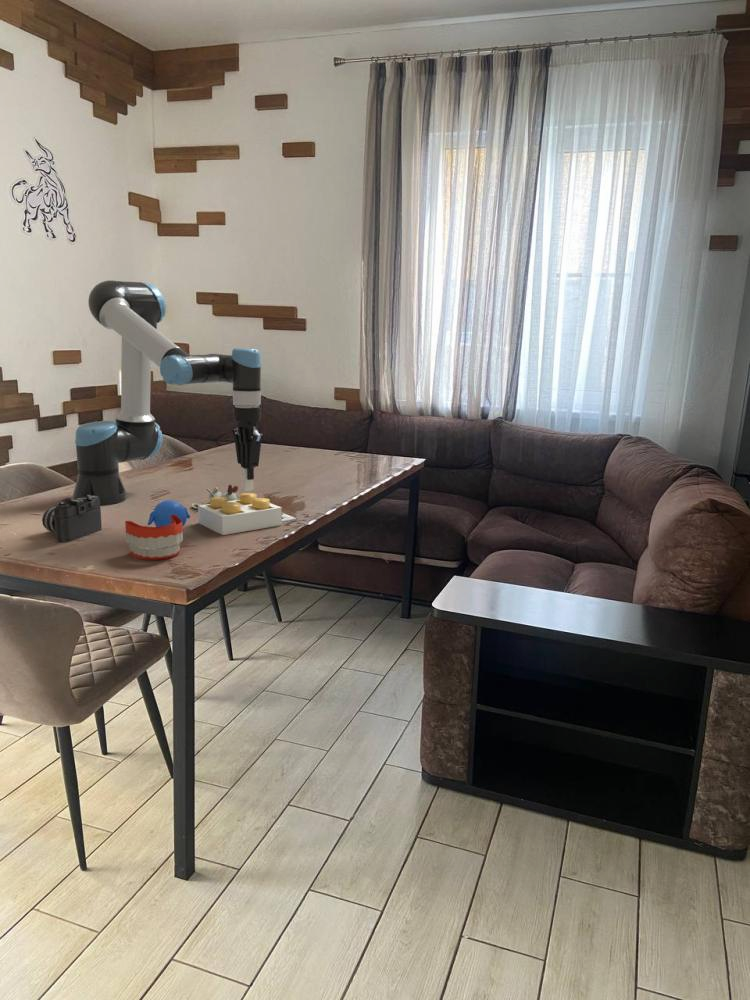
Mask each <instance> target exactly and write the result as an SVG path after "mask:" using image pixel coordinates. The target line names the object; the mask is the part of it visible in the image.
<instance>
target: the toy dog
mask: <svg viewBox="0 0 750 1000" xmlns="http://www.w3.org/2000/svg"><path fill="white" fill-rule="evenodd" d="M206 490H207V491H208V493H209V496H208V497H209V498H208V499H209V500H210V498H213V497H226V498H228V501H234V500H239V498H238V497H237V494H236V493H237V492H238V491H239V486H238V485H233V486H232V484H228V487H227V492H226V491H225V492H224V493H222V492H221V491H219V488H218V487H217V486H215V487H213V491H211V490H210V488H208V487H207V488H206ZM206 504H210V502H207V501H204V502H203V503H202V504H199V503H191V508H192V509H194V510H198V505H206Z"/></svg>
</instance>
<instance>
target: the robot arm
mask: <svg viewBox="0 0 750 1000" xmlns="http://www.w3.org/2000/svg"><path fill="white" fill-rule="evenodd" d="M87 304H88V308H89V312H90V314H91V315H92V317H93V318H94V319H95V320H96V322H98V323H99V324H100V325H101V326H103V327H104V328H106V329H108V330H113V331H114V332H115V333H117V334H118V335H119V336H120V337H121V374H120V376H121V378H120V379H121V380H120V381H121V383H120V385H121V389H120V391H121V394H120V396H121V397H120V400H121V401H120V402H121V403H120V412H119V413H118V414H117V415H116V416H115V421H113V420H112V421H111V420H100V421H92V422H87V423H84V424H80V425H79V426H78V427H77V429H76V431H75V440H74V443H75V447H76V461H77V462H76V463H77V479H76V483H75V486H74V489H73V494H72V498H75V499H76V498H86V499H87V497H88V496H87V495H90V496H98V497H99V499H100V506H103V505H104V506H106V505H112V504H119V503H121V502H124V501H126V500H127V491H126V488H125V485H124V483H123V481H122V477H121V476H120V470H119V469H120V468H119V466H120V465H119V464H120V463H127V462H133V461H142V460H146V459H149V458H153V457H155V456H156V455H157V454H158V453H159V452H160V450H161V449H162V445H163V440H164V439H163V433H162V432H163V431H162V430H161V427H160V425H159V424H158V423H157V422H156V418H155V417H154V416H153V415H152V413H151V385H152V384H151V382H152V381H151V379H152V378H151V376H152V375H151V373H152V363H154V364H155V365H156V366H157V367H159V372H160V376H161V377H162V380H163V381H164V383H166V384H169V385H173V386H174V385H177V386H184V385H195V384H207V383H209V384H211V383H230V384H232V404H233V406H234V407H233V408H232V414H233V416H232V417H233V418H232V419H233V420H234V421H235V422H237V424H236V428H233V429H232V435H233V438H234V445H235V455H236V460H237V464H240V467H241V468H242V472H241V474H242V492H252V491H254V490H255V485H254V484H255V480H254V478H255V470H254V469H255V468H256V467H259V465H260V463H259V462H260V456H261V447H262V441H263V439H264V435H263V433H259V431H258V430H259V427H258V422H259V421H261V420H262V408H261V406H260V405H261V403H262V401H261V398H262V394H261V389H262V388H261V383H262V381H261V380H262V379H261V378H262V377H261V376H262V375H261V370H262V369H261V367H262V364H261V363H262V362H261V352H260V350H259V349H257V348H244V347H243V348H240V347H238V348H233V349H232V351H231V353H232V354H231V355H230V354H221V353H220V354H219V353H205V354H189V353H187V351H185V350H184V349H182V348H181V347H179V346H178V345H177V344H176V343H174V341H172V340H171V339H169V338H168V337H167V336H166V335H164V334H163V333H162V332H161V331H159V330H158V324H159V323H161V322H162V321H163V319H164V318H165V316H166V301H165V297H164V296H163V293H161V291H160V289H159V288H158V287H157V286H155V285H153V284H151V283H146V282H142V281H140V282H139V281H123V280H122V281H120V280H104V281H101V282H99V283H97V284H96V285H95V286H94V287H93V288H92V289H91V291H90V293H89V295H88V303H87Z"/></svg>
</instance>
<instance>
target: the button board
mask: <svg viewBox="0 0 750 1000" xmlns="http://www.w3.org/2000/svg"><path fill="white" fill-rule="evenodd" d="M228 502H237V503H239V500H234V501H228ZM197 507H198V509H197V510H198V515H197V516H198V524H199V525H201V526H203V527H206V528H207V529H210V530H212V531H213V532H215V533H218V534H219V535H222V536H226V535H232V534H237V533H245V532H250V531H255V530H261V529H266V528H273V527H279V526H282V524H283V522H282V513H283V511H282V506H279V505H276V504H274V503H272V502H270V509H264V510H255V509H253V508H252V504H249V505H243V504H241V513H238V514H231V515H226V514H224V513H222V508H221V509H213V508H210V503H209V504H206V505H202V504H200V505H198V506H197Z"/></svg>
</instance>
